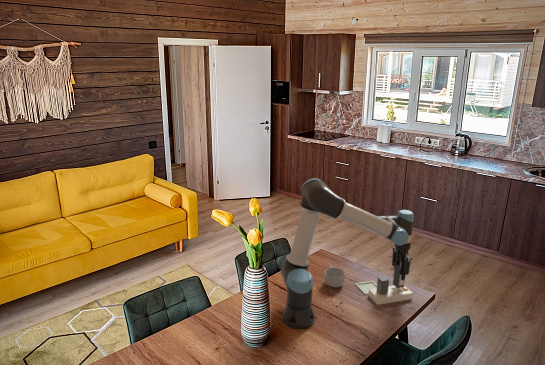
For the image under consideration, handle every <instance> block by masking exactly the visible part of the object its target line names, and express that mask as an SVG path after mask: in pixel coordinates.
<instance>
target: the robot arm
mask: <svg viewBox="0 0 545 365" xmlns="http://www.w3.org/2000/svg"><path fill="white" fill-rule="evenodd" d="M301 195H302V196H301V199H300V203H299V206H300V207H301V212H300V216H299V220H298V224H297V226H296V231H295V235H294V238H293V243H292V246H291V249H290V252H289V254H287V255H286V256H285V259H284V260H283V261H282V262H281V264H280V274H281V275H280V276H281V278H282V279H283V282H284V286H285V289H286V305H285V307H284V309H283V311H282V322H283V324H285V325H286V326H287V327H289V328H292V329H296V330H298V329H299V330H300V329H301V330H303V329H307V328H310V327H312V326H313V325H314V323H315V321H316V320H315V319H316V316H315V312H314V308H313V305H312V304H313V302H312V301H313V288H314V278H313V275H312V273H310V271H308V270H309V266H310V261H309V259H308V257H309V255H310V254H309V253H310V251H311V247H312V243H313V239H314V237H315V232H316V229H317V225H318V223H319V219H320V215H321V214H323V215H324V216H325V215H326V216H328V217H330V218H332V219H334V220H336V219H340V220H343V221H345V222H348V223H350V224H353V225H354V226H357V227H358V228H359V227H360V228H362V229H364V230H366V231H369V232H371V233H373V234H376V235H377V236H380V237H382V238H385V239H387V240H389V241H391V242H392V243H393V244H394V247H392V259H391V260H392V261H391V266H392V267H393V269H394V268H395V265H398V264H401V273H400V276H399V286H401V285H404V286H405V282H404V281H406V276H408V275H409V274H410V267H411V262H412V259H413V258H412V257H410V256H409V251H410V250H411V247H412V246H411V245H412V235H413V228H414V220H415V214H414V212H413V211H411V210H408V209H401V210H398V212H397V214H396V215H395V214H394V215H378V216H377V215H375V214H373V213H370V212H368V211H366V210H364V209H362V208H360V207H357V206H355V205H353V204H351V203H348V202H346V200H345V199H344V198H343V197H340V196H338V195H337V194H336V193H335V192H334V191H332V189H330V187H329V186H328V185H327V184H326V182H324V181H323V180H322V179H319V178H315V177H314V178H309V179H307V180H306V181H304V182H303V184H302V186H301Z"/></svg>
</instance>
